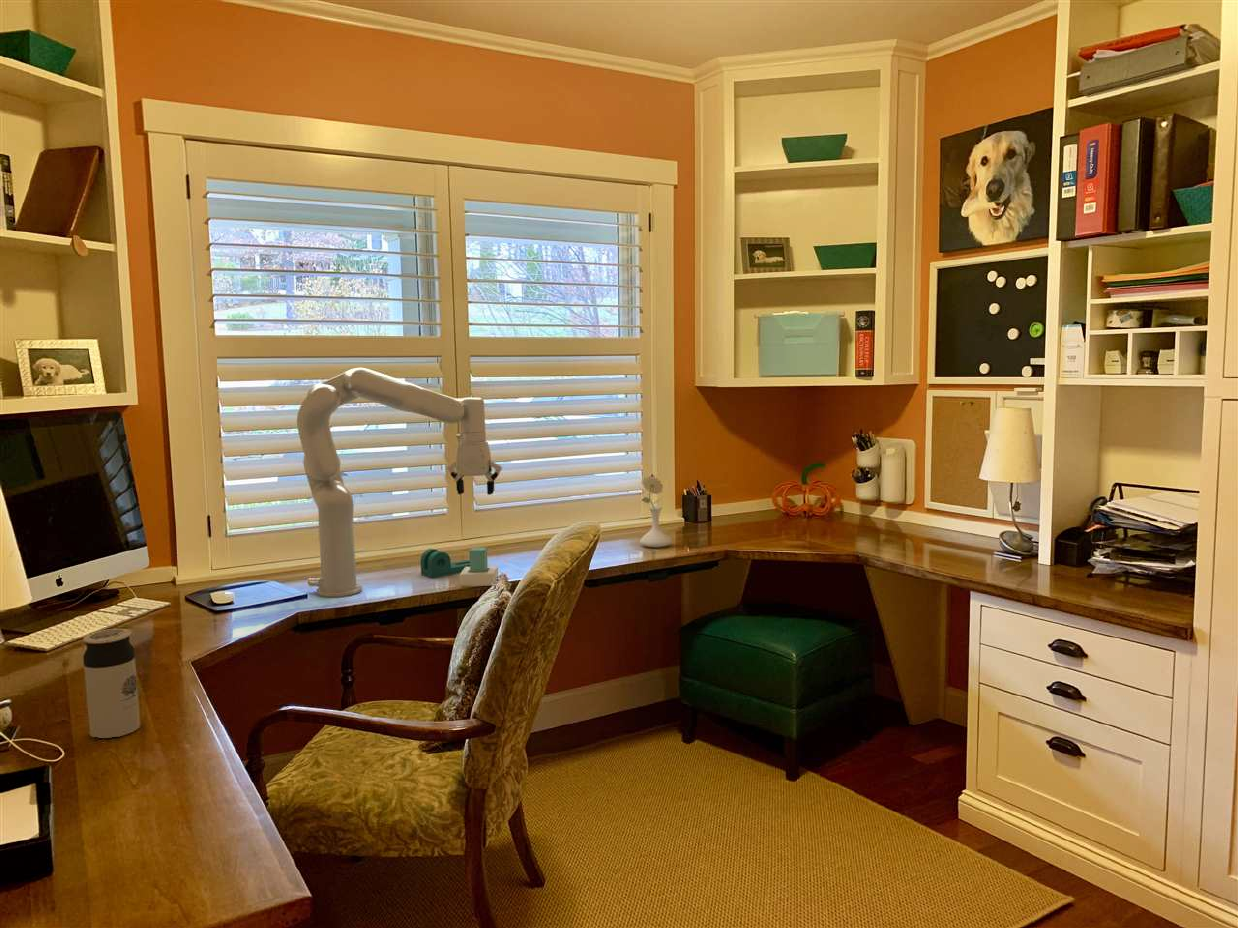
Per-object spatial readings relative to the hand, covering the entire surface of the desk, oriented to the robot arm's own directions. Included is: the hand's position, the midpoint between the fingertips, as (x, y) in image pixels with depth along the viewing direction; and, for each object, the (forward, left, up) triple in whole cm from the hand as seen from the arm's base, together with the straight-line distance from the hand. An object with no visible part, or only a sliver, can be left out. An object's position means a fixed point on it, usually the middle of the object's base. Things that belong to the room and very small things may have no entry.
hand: (475, 493), depth 275 cm
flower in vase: (+55, +41, -26) cm, 74 cm away
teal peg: (+1, -8, -26) cm, 27 cm away
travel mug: (-47, -117, -26) cm, 128 cm away
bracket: (-10, +6, -26) cm, 28 cm away
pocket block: (+1, -8, -26) cm, 27 cm away
